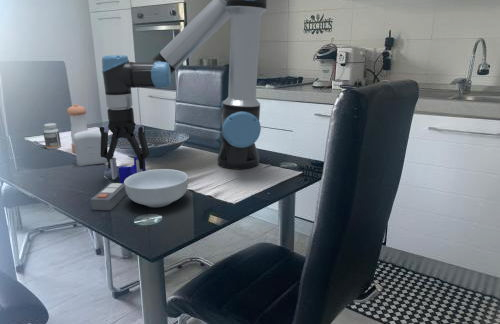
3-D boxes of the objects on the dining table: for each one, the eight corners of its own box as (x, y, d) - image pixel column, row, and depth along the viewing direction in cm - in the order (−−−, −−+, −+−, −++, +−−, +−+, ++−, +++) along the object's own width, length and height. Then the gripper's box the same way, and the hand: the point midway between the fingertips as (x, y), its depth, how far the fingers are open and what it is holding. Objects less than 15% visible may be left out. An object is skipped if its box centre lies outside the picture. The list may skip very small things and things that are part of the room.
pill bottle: (51, 145, 163) (48, 122, 160) (64, 145, 162) (60, 123, 159) (43, 149, 158) (39, 125, 155) (55, 149, 157) (52, 125, 154)
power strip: (131, 189, 114) (130, 178, 113) (110, 210, 100) (109, 198, 99) (115, 189, 114) (113, 178, 113) (92, 209, 100) (90, 197, 99)
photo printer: (76, 167, 135) (72, 133, 131) (77, 163, 139) (72, 130, 135) (107, 164, 138) (103, 130, 134) (107, 160, 142) (103, 128, 138)
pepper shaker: (74, 154, 150) (67, 106, 144) (71, 150, 155) (64, 103, 150) (93, 151, 153) (87, 104, 148) (89, 147, 159) (83, 102, 153)
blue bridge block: (133, 173, 128) (131, 156, 127) (146, 174, 128) (144, 156, 126) (116, 186, 117) (113, 167, 115) (129, 186, 116) (127, 168, 115)
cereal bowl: (192, 190, 113) (191, 167, 111) (184, 214, 97) (183, 188, 95) (135, 190, 113) (133, 168, 111) (118, 214, 97) (115, 189, 95)
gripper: (156, 105, 119) (162, 174, 126) (93, 105, 120) (101, 173, 127) (149, 110, 112) (155, 182, 118) (81, 109, 113) (91, 181, 120)
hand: (127, 177), depth 123 cm, fingers open, 8 cm apart
